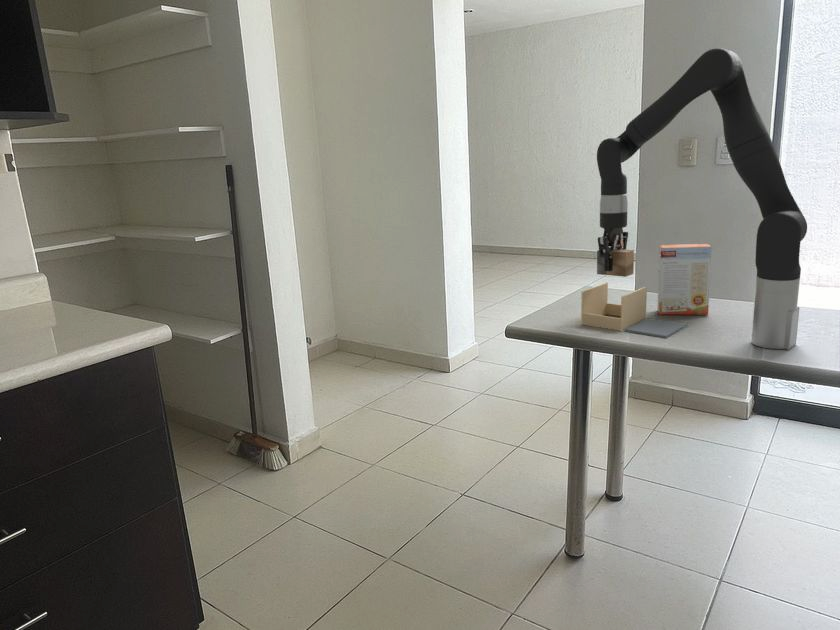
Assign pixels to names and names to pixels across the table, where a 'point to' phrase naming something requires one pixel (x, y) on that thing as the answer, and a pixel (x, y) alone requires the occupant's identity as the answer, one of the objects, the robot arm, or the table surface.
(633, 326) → the rubber mat
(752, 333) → the robot arm
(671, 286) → the cracker box
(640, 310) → the open wooden box
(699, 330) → the table surface
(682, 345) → the table surface
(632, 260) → the box
